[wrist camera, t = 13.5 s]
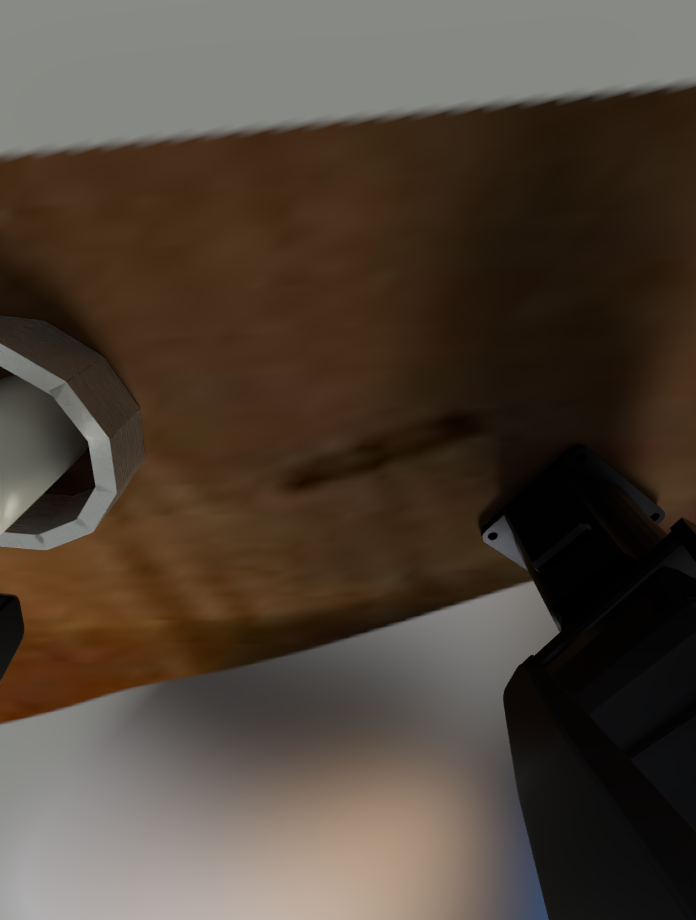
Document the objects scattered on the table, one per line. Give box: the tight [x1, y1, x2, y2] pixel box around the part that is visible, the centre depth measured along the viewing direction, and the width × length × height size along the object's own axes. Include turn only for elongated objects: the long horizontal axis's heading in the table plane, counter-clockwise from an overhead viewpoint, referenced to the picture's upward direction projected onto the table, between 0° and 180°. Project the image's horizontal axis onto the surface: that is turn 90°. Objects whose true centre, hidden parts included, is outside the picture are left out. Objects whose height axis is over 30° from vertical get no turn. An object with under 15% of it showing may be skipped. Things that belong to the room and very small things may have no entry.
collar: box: [0, 315, 145, 550], centre depth 19 cm, size 9×9×3 cm
